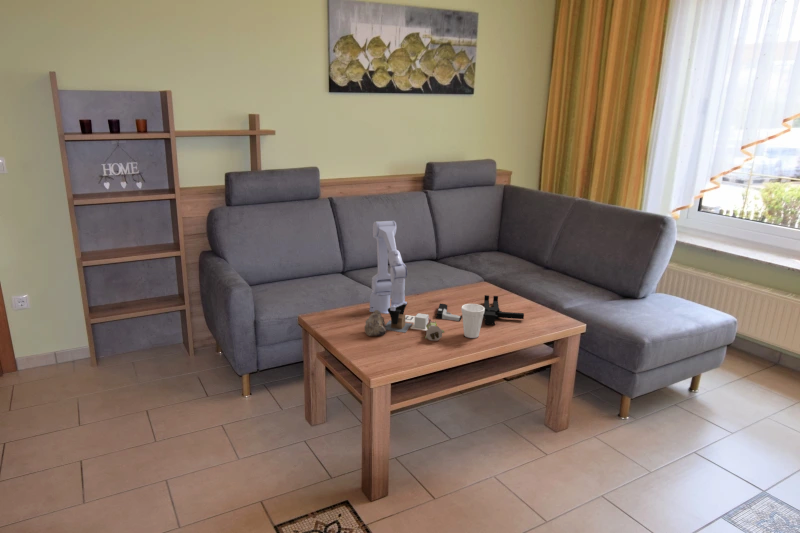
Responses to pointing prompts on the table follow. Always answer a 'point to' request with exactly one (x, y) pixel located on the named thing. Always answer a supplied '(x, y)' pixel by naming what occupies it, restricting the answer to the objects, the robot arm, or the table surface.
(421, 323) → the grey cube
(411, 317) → the code tile
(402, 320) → the walnut cube
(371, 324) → the rock
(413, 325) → the code tile
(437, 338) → the figurine
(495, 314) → the toy
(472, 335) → the cup
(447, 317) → the toy gun
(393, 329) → the slate mat
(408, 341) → the table surface
